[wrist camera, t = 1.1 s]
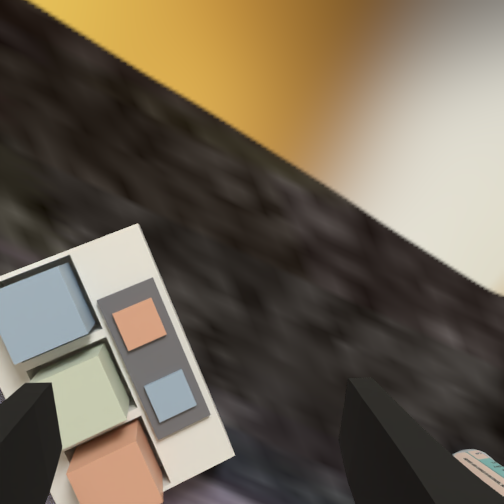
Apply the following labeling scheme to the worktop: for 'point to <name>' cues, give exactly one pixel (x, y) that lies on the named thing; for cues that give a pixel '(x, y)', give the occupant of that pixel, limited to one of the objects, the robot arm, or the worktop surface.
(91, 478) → the terracotta key
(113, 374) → the sage key
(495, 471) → the beige capped bottle
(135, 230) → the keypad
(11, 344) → the slate blue key
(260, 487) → the worktop surface
